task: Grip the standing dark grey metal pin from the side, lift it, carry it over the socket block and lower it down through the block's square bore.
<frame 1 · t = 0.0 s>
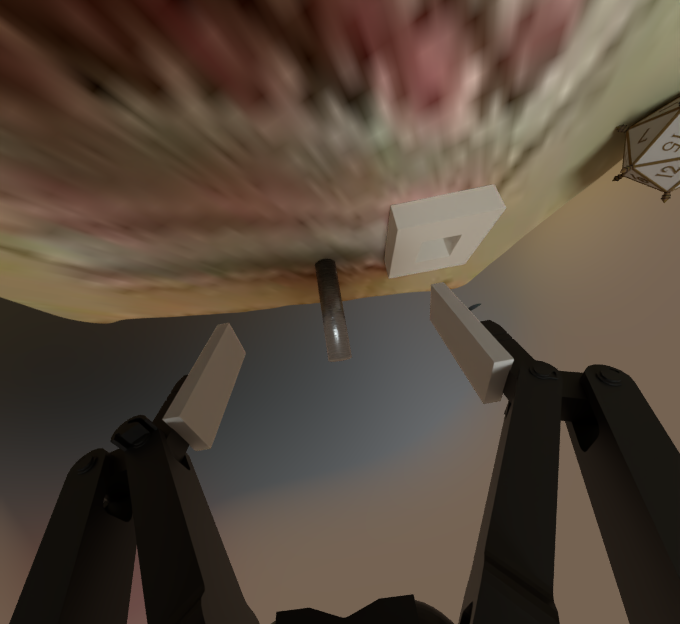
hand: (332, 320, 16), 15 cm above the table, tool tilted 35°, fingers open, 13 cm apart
game die: (655, 110, 23), on the table
pin: (325, 264, 38), on the table
socket block: (429, 228, 34), on the table
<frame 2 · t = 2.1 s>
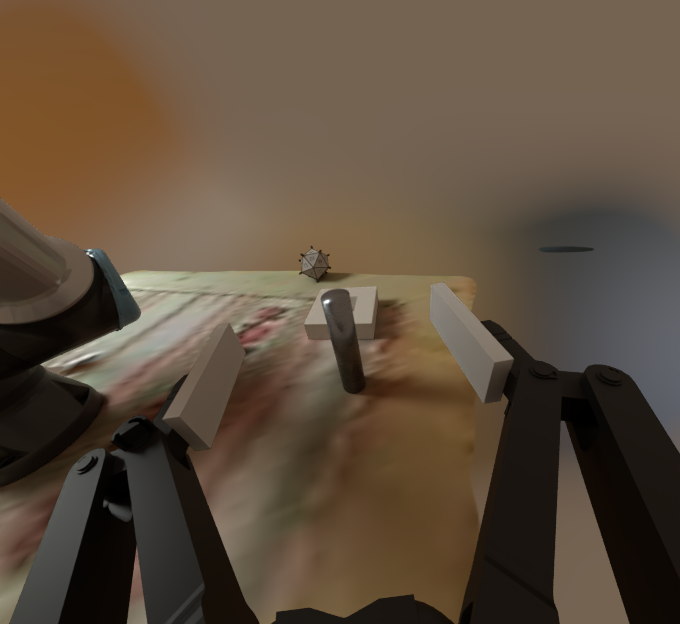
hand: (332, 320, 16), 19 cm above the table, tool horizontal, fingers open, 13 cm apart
game die: (318, 278, 65), on the table
pin: (354, 384, 35), on the table
socket block: (345, 318, 48), on the table
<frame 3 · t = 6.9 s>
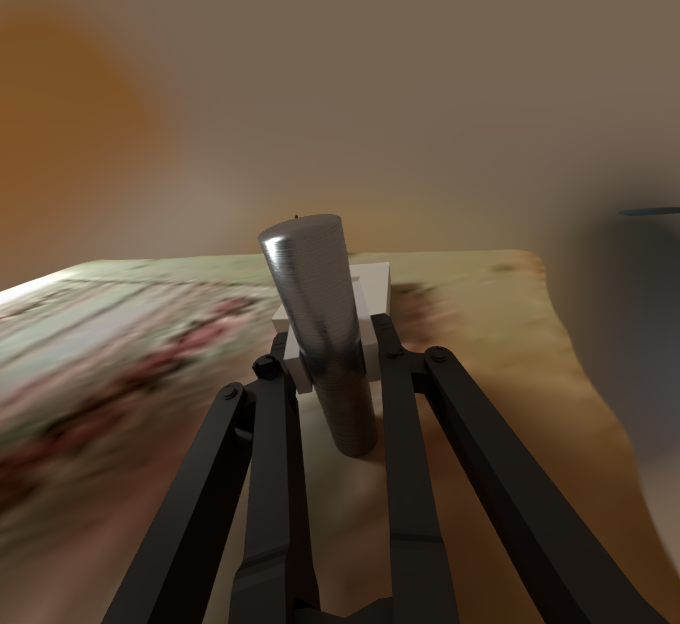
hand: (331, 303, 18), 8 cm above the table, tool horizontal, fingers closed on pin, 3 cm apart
pin: (355, 433, 18), on the table, touching gripper
socket block: (341, 311, 31), on the table
when the fingers open (9 cm above the table, at t = 12.3 s): pin drops 1 cm, resting in socket block.
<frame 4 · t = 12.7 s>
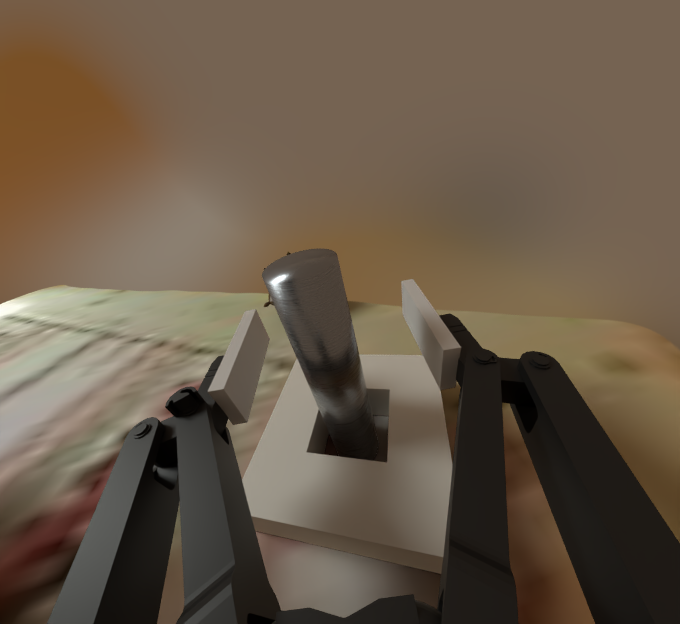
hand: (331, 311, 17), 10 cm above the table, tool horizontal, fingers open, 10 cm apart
pin: (357, 444, 18), resting in socket block
socket block: (358, 444, 18), on the table
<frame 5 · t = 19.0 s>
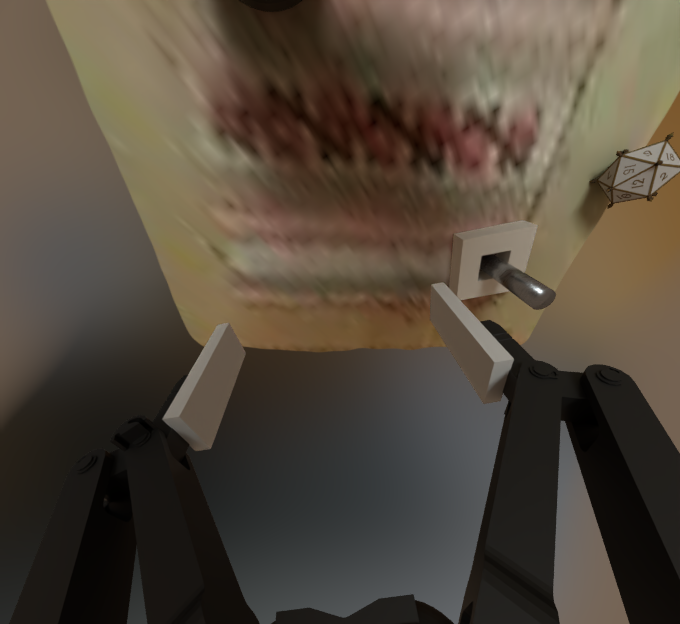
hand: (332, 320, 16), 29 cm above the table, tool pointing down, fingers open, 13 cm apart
game die: (608, 172, 39), on the table
pin: (482, 258, 46), resting in socket block
socket block: (482, 258, 46), on the table
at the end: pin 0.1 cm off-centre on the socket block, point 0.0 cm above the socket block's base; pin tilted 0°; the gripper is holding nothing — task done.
